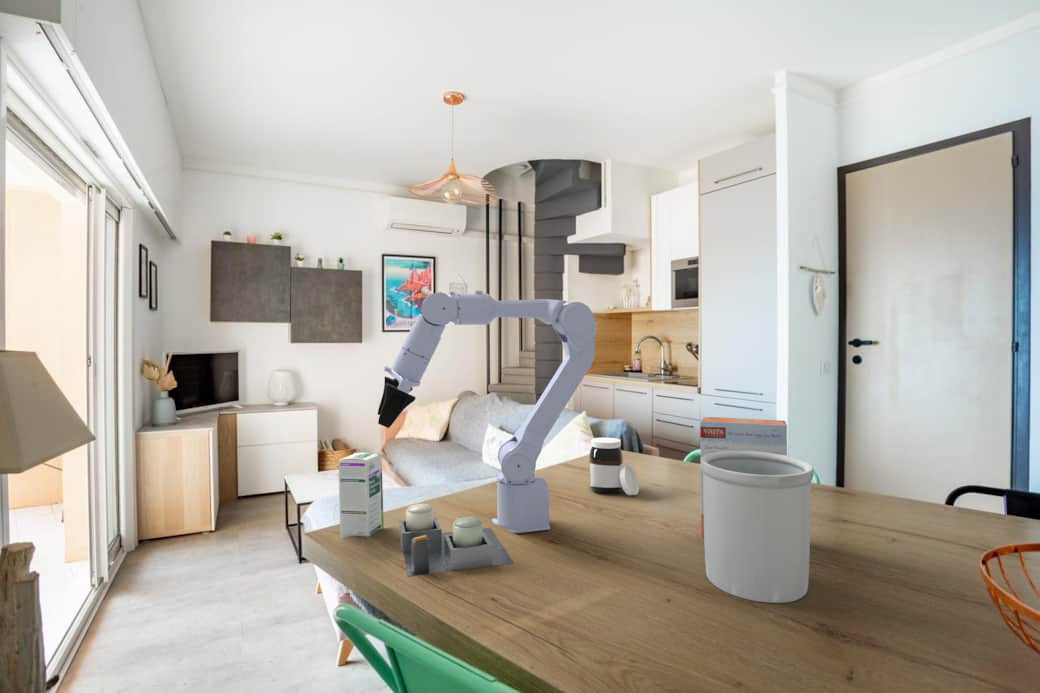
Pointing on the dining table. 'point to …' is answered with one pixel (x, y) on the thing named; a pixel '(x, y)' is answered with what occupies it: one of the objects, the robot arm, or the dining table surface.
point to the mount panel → (453, 550)
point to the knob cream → (419, 517)
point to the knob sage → (467, 532)
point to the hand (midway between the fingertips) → (382, 420)
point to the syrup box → (360, 494)
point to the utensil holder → (757, 524)
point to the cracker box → (740, 439)
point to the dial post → (420, 554)
